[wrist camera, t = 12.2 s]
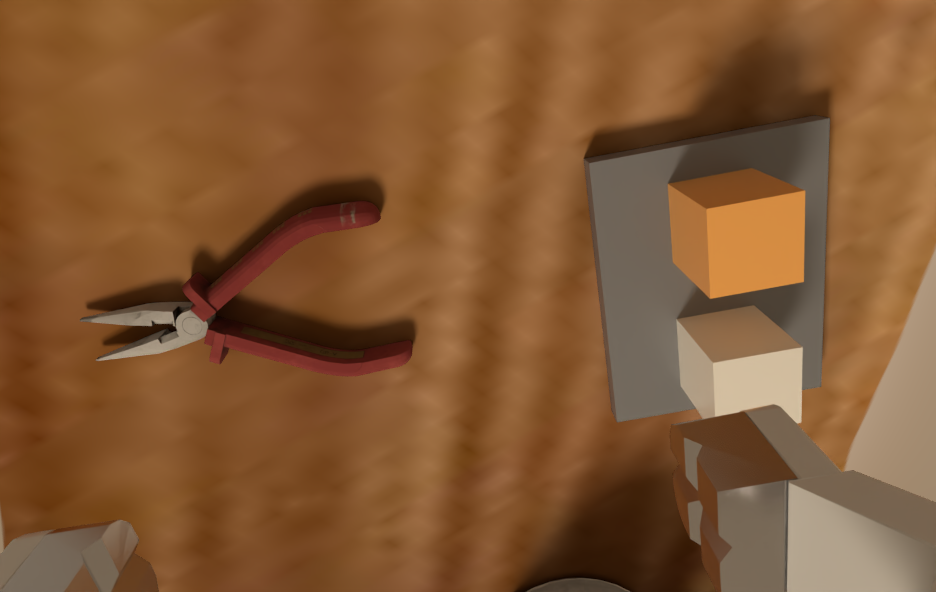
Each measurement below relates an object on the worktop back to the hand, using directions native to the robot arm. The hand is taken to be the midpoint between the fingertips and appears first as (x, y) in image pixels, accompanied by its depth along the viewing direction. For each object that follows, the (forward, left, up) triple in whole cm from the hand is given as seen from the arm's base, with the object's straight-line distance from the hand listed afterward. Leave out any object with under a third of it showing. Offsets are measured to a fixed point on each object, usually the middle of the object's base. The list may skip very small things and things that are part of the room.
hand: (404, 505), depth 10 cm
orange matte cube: (+7, +16, -30) cm, 34 cm away
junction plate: (+11, +16, -31) cm, 37 cm away
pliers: (+6, -13, -32) cm, 35 cm away
